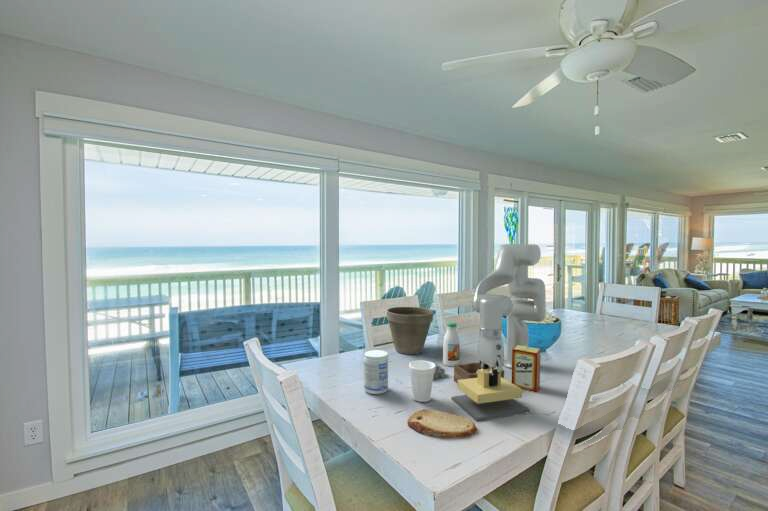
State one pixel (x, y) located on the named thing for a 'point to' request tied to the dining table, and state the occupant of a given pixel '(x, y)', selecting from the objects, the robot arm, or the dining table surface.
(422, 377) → the cup
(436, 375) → the egg carton
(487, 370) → the lid
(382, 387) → the supplement tub
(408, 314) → the plant pot
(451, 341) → the milk bottle
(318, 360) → the dining table surface
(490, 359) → the robot arm
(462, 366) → the box
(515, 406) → the mat
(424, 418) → the slice of bread
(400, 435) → the dining table surface
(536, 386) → the baking soda box
